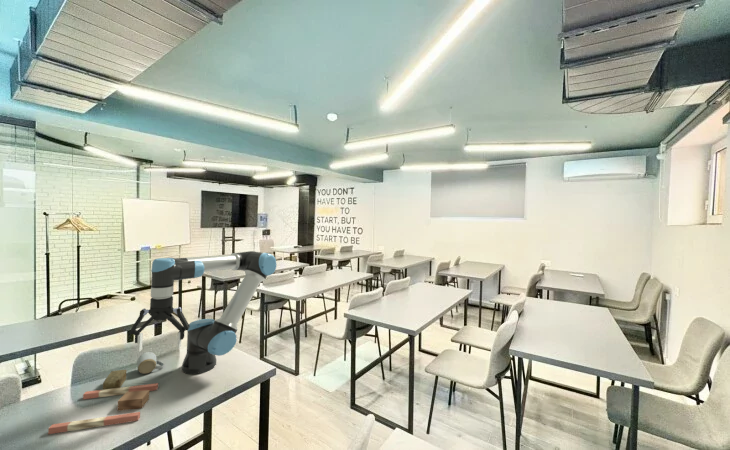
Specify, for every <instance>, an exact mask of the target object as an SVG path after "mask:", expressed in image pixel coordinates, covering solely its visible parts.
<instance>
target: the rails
mask: <svg viewBox="0 0 730 450" xmlns="http://www.w3.org/2000/svg"><path fill="white" fill-rule="evenodd" d="M131 386H132V385H130V386H123V387H122V386H121V388H112V389H104V390H103V389H100V390H101V391H100V392H99V397H98V398H105V397H112V396H120V395H122V396H123V395H124V394H125V393H126V392H129V388H130V387H131ZM106 417H107V416H101V417H94V418H88V419H81V420H74V421H69V422H70V424H69V425H68V427H67V432H72V431H77V430H78V431H79V430H85V429H86V430H87V429H93V428H99V427H104V420H105V418H106Z"/></svg>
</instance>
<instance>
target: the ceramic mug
mask: <svg viewBox="0 0 730 450" xmlns="http://www.w3.org/2000/svg"><path fill="white" fill-rule="evenodd" d="M136 364H137V365H136V366H137V371H138V372H139V373H140V374H143V375H145V374H146V375H147V374H150V373H152V372H153V371H154V370H162V369H163V368H164V366H165V363H164V362H163V361H160V360H158V359H157V355H156V354H155V353H154V352H151V351H147V352H143V353H142V354H141V355H139V357H138V358H137V360H136Z"/></svg>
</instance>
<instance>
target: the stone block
mask: <svg viewBox="0 0 730 450" xmlns="http://www.w3.org/2000/svg"><path fill="white" fill-rule="evenodd" d="M126 379H127V369H119V370H118V369H117V370H112V371H111V372H110V373H109V374H107V377H106V378H105V380H104V381H103V382H102V390H104V389H112V388H121V387H122V386H123V385H124V383H125V382H126Z"/></svg>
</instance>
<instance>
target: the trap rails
mask: <svg viewBox="0 0 730 450" xmlns="http://www.w3.org/2000/svg"><path fill="white" fill-rule="evenodd" d="M130 386H131V387H130V388H129V392H132V391H144V390H150V391H149V392H152V391H158V389H159V382H156V383H149V384H147V383H146V384H139V385H130ZM101 390H102V389H98V390H89V391H85V392H84V393H83V394H82V400H89V399H96V398H100V397H99V392H100V391H101ZM105 417H106V418H105V420H104V426H105V427H106V426H110V425H111V426H113V425H118V424H124V423H131V422H132V423H133V422H138V421H139V419H140V418H141V412H140V411H136V412H129V413H122V414H121V413H120V414H116V415H114V414H113V415H109V416H108V415H107V416H105ZM70 422H71V421H67V422H61V423H60V422H59V423H53V424H51V425H50V426H49V427H48V428H47V429H48V430H47V431H48V432H47V434H48V435H52V434H59V433H66V432H68V431H67V427H68V425H69V424H70ZM104 426H103V427H104Z"/></svg>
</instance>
